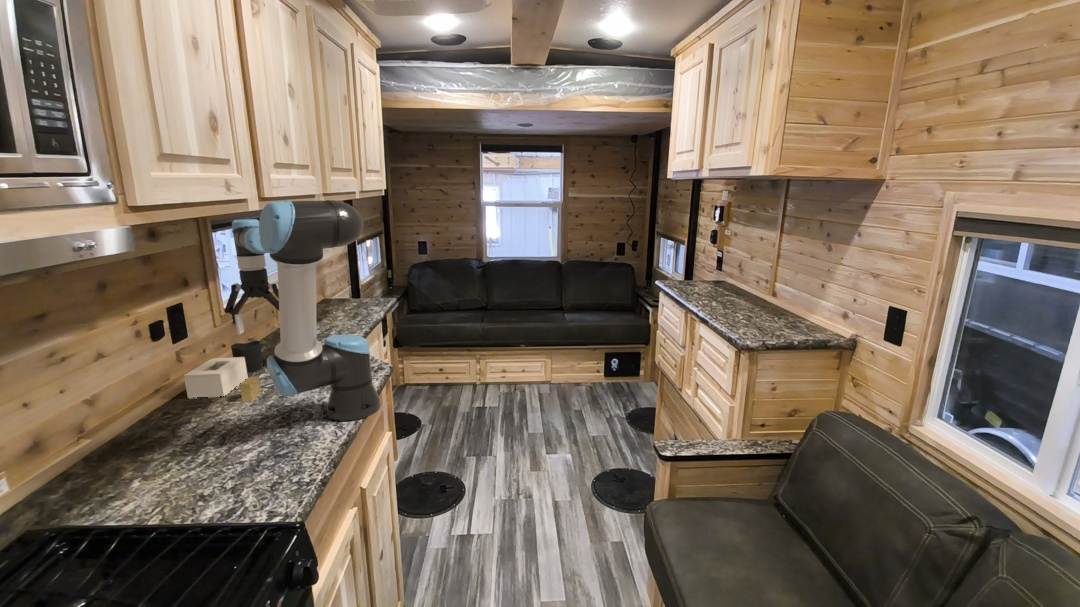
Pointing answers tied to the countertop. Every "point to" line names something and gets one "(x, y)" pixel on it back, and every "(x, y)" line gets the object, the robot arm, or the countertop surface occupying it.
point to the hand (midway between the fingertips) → (262, 332)
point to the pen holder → (249, 354)
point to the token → (250, 389)
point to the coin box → (215, 377)
